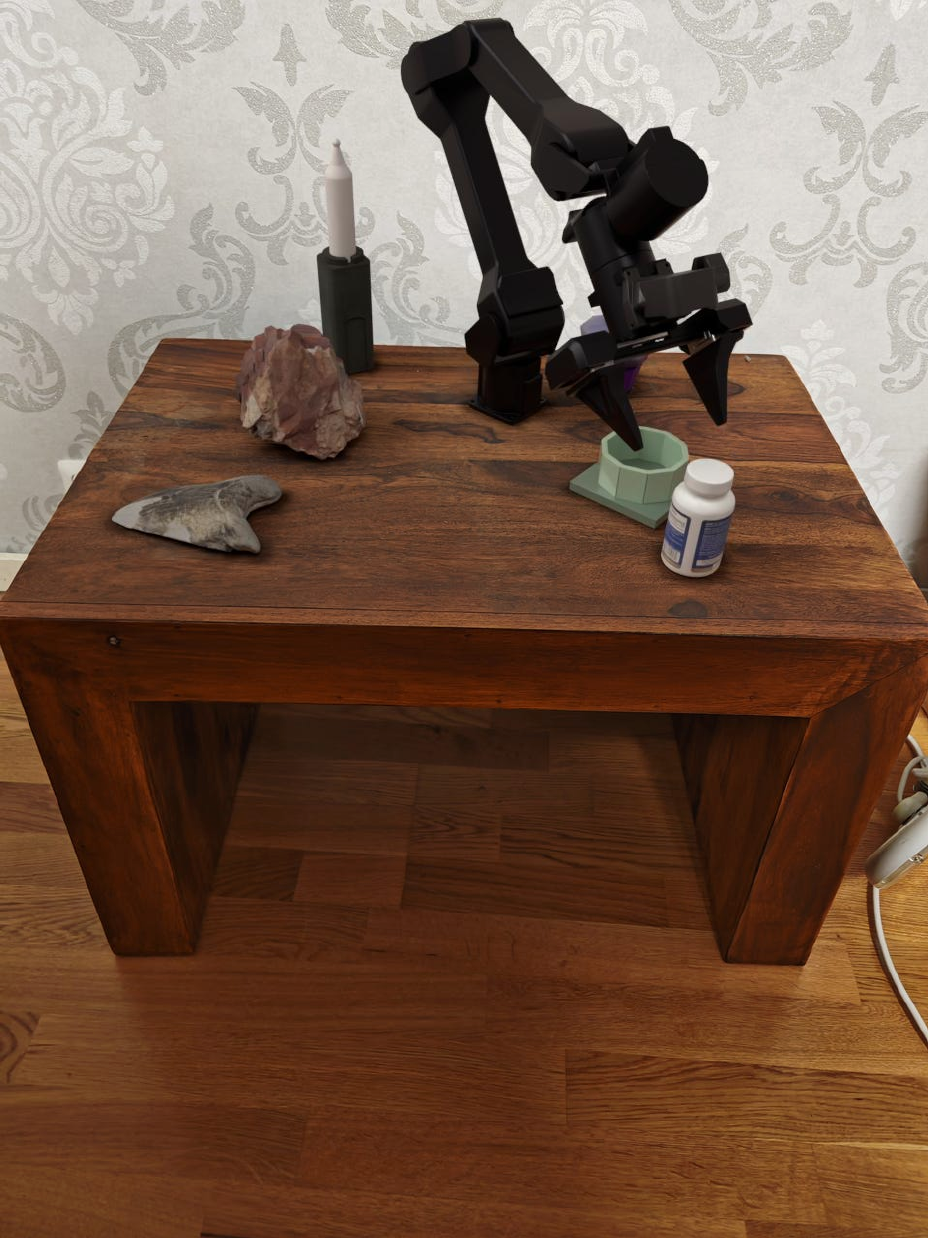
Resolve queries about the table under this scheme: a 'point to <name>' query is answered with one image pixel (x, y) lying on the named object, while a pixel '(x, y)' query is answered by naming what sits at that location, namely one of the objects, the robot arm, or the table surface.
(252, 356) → the mineral specimen
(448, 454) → the table surface
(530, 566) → the table surface
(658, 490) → the cup holder
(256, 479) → the fossil
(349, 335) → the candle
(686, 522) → the pill bottle
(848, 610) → the table surface
